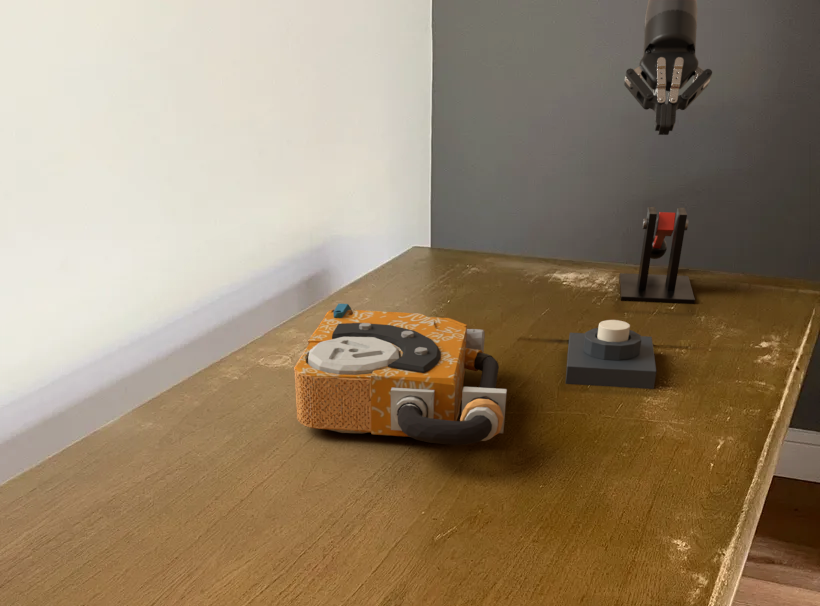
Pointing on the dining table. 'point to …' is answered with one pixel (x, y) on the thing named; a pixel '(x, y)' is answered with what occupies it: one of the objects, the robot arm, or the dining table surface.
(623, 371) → the base block
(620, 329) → the stop button
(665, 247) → the red lever
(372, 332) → the device
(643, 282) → the lever bracket
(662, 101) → the robot arm
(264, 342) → the dining table surface
